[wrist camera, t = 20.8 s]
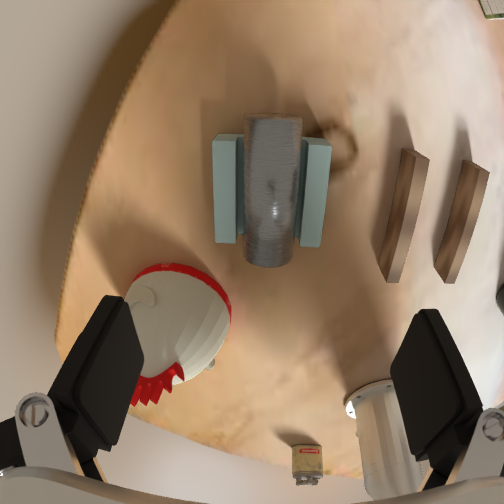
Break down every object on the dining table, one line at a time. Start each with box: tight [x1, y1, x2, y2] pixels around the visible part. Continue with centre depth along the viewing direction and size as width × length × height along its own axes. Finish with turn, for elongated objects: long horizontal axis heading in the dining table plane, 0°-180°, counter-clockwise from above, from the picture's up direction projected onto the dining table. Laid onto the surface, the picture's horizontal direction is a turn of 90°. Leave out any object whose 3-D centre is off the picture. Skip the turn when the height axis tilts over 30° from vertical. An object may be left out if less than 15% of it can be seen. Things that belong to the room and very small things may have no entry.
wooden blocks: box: [378, 148, 490, 284], centre depth 30 cm, size 14×10×4 cm
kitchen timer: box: [124, 263, 231, 407], centre depth 34 cm, size 14×14×15 cm
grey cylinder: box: [243, 113, 303, 267], centre depth 27 cm, size 13×5×5 cm, turn 179°
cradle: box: [212, 134, 332, 247], centre depth 30 cm, size 10×10×4 cm
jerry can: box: [292, 445, 323, 486], centre depth 58 cm, size 7×4×10 cm, turn 80°
